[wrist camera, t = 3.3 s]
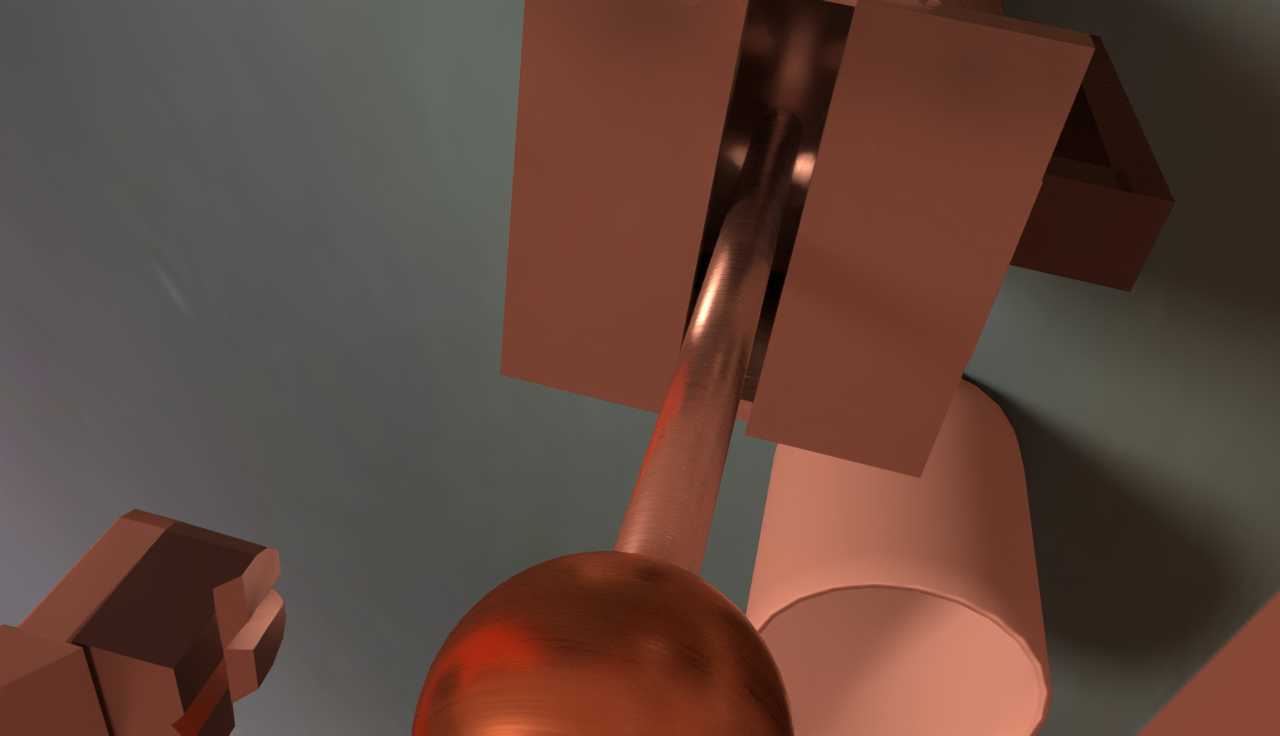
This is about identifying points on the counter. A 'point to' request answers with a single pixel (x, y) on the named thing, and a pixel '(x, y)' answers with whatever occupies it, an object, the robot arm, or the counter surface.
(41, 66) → the counter surface
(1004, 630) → the mug
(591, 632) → the copper ball on rod
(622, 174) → the press carafe
